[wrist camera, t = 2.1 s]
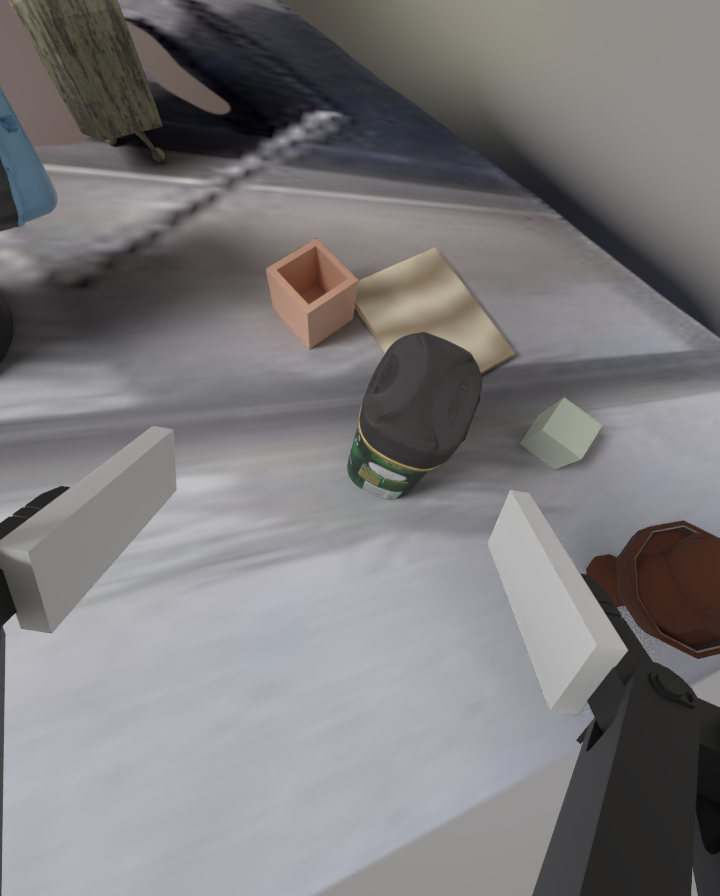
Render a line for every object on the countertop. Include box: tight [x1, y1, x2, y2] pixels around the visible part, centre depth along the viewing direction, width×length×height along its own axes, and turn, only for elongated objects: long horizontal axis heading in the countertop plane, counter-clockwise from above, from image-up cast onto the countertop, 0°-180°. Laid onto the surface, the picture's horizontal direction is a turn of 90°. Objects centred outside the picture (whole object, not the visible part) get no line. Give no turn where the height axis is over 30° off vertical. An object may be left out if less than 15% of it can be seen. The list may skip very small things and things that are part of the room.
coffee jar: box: [347, 332, 482, 499], centre depth 34 cm, size 10×8×19 cm
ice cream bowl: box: [586, 521, 720, 659], centre depth 34 cm, size 11×11×15 cm
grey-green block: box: [519, 397, 603, 470], centre depth 43 cm, size 5×5×5 cm
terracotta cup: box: [266, 238, 358, 350], centre depth 44 cm, size 7×7×7 cm
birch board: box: [355, 247, 516, 374], centre depth 48 cm, size 18×14×1 cm
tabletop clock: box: [9, 0, 165, 162], centre depth 40 cm, size 14×9×25 cm, turn 28°
